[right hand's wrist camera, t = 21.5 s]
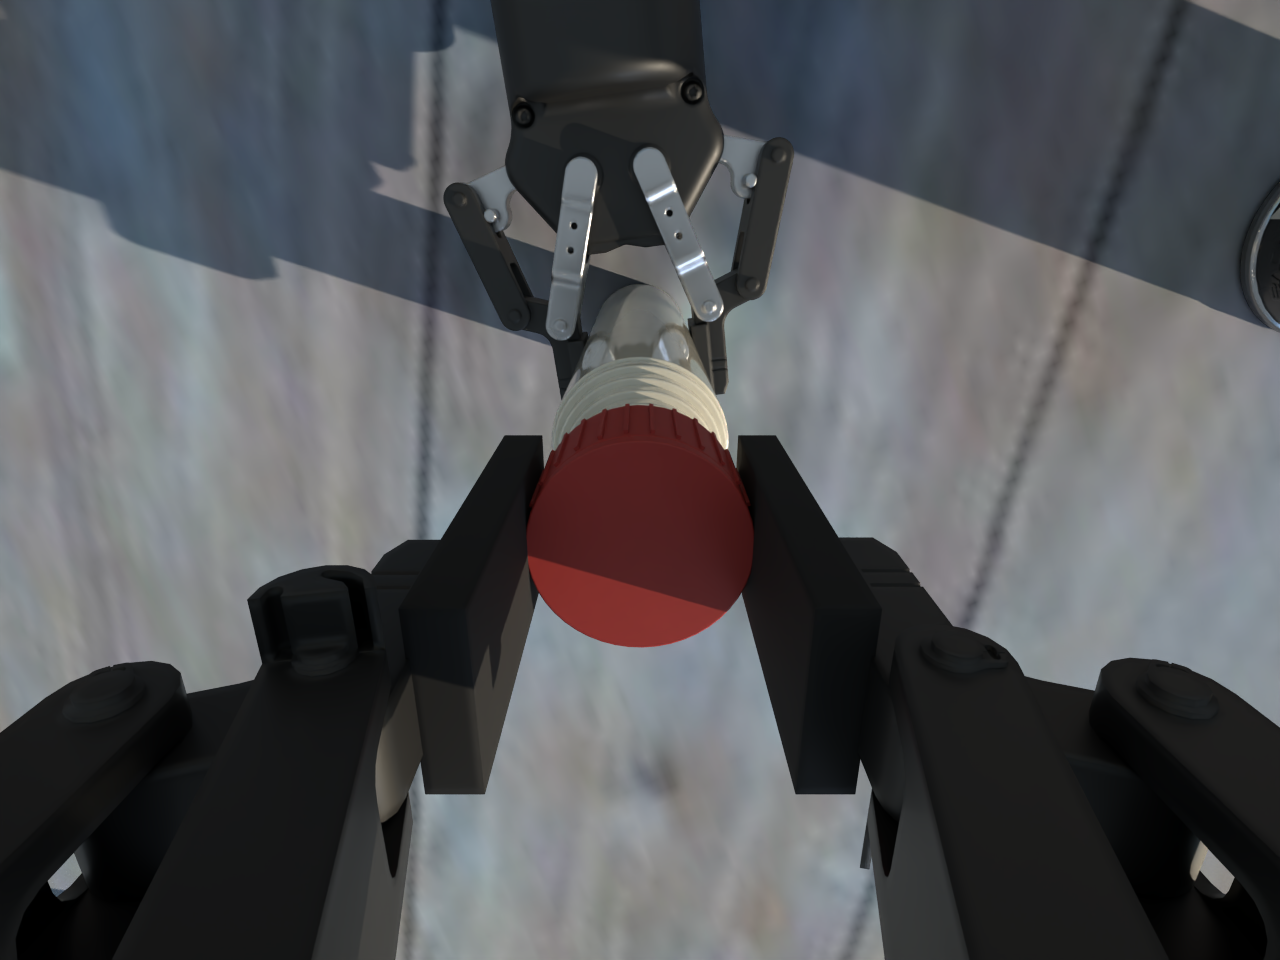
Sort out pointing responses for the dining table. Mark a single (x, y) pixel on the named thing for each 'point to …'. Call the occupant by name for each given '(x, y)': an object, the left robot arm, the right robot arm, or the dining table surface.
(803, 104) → the dining table surface
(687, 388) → the bottle
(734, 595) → the cap
